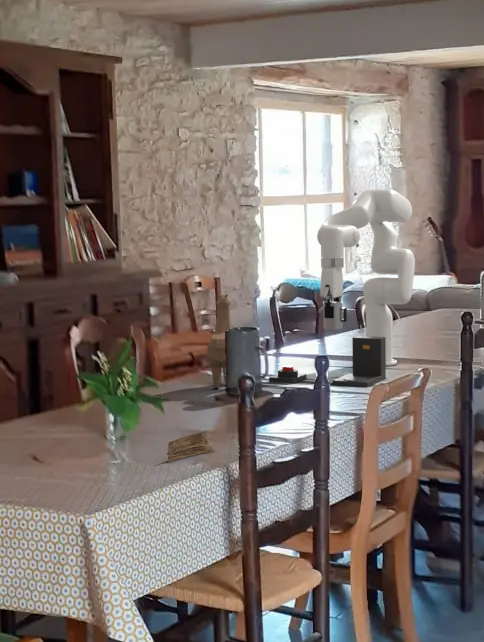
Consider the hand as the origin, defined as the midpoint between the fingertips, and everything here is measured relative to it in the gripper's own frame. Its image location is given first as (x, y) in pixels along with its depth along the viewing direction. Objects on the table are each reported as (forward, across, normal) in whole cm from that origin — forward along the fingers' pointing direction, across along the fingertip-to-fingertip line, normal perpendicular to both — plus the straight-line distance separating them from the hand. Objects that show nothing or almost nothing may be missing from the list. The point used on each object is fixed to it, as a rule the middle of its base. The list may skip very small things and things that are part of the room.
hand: (332, 316), depth 392 cm
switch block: (+21, +8, -13) cm, 26 cm away
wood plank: (+21, +121, +7) cm, 123 cm away
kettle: (+4, 0, 0) cm, 4 cm away
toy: (+21, +27, -29) cm, 44 cm away
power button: (+18, +8, -13) cm, 24 cm away
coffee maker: (+21, +1, +10) cm, 23 cm away
